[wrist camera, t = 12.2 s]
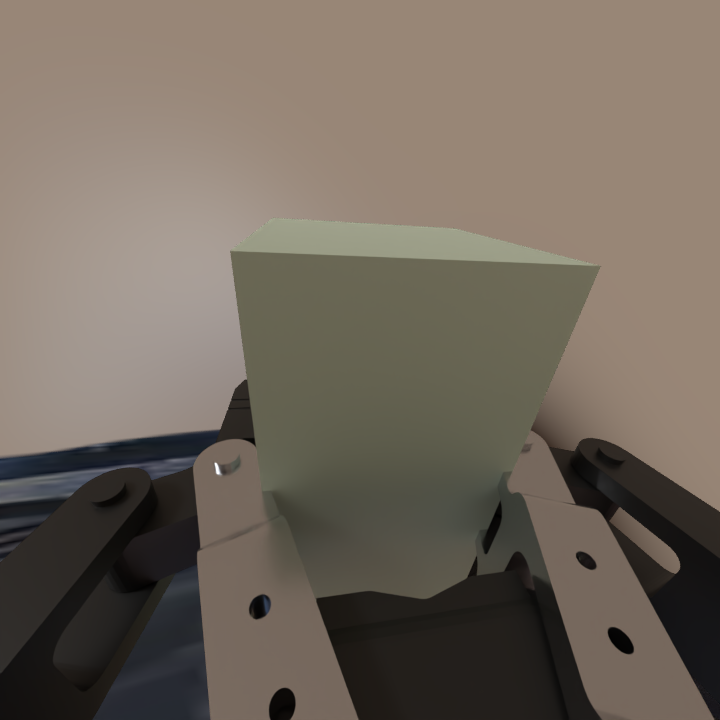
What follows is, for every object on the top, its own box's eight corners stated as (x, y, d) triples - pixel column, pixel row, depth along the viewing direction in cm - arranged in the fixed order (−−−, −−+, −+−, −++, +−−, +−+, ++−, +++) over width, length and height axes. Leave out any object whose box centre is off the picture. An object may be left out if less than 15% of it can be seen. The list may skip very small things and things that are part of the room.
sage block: (284, 665, 9) (229, 250, 4) (292, 514, 14) (272, 217, 8) (440, 639, 10) (601, 265, 4) (400, 504, 14) (455, 228, 9)
